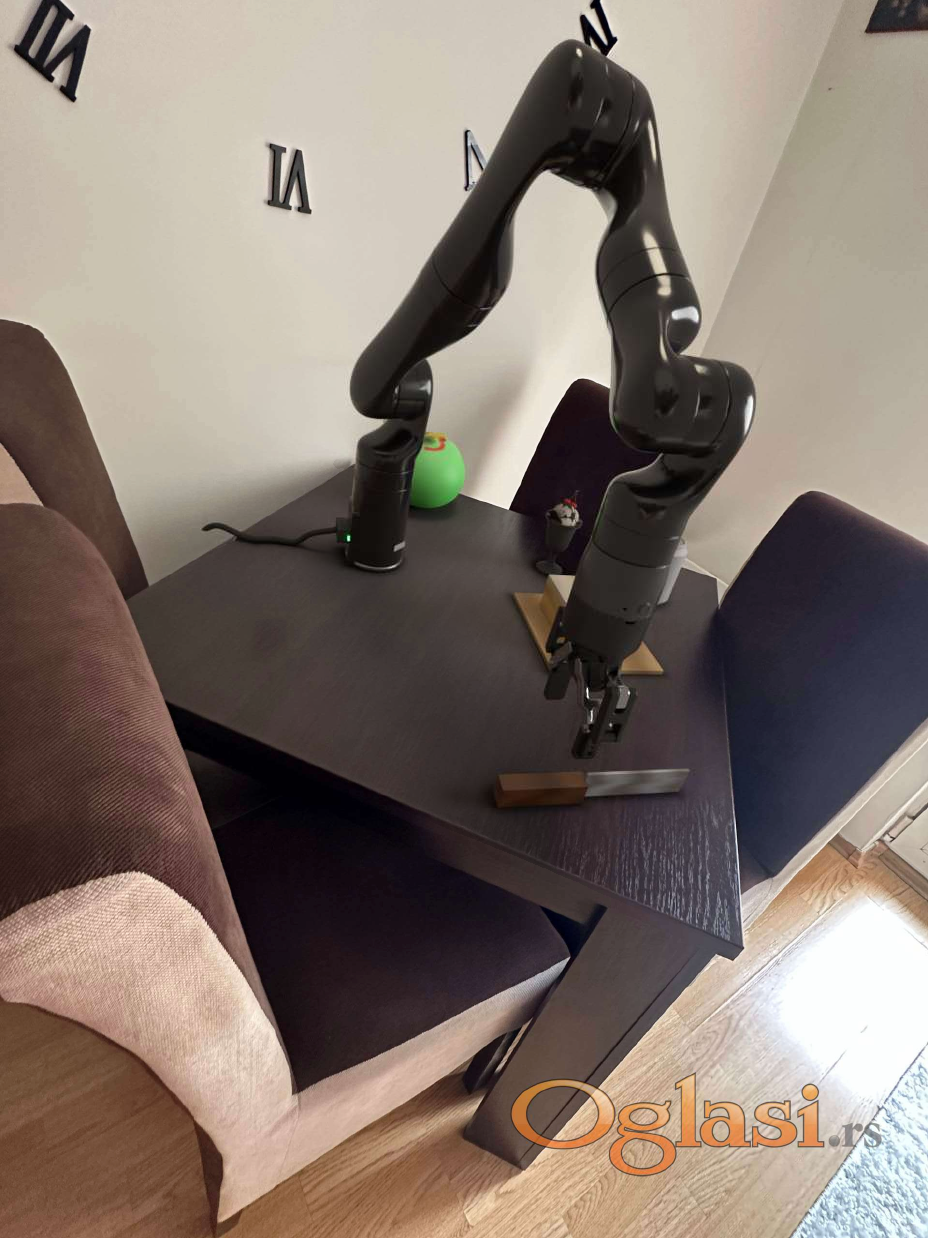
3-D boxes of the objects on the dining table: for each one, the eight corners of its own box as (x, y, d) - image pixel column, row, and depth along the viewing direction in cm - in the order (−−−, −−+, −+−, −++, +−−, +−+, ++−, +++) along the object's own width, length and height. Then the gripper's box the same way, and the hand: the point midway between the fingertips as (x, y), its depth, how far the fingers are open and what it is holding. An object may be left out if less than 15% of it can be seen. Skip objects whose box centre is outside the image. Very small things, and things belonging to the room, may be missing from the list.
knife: (497, 808, 70) (504, 785, 68) (492, 791, 72) (499, 769, 70) (682, 798, 76) (693, 777, 75) (673, 783, 78) (684, 762, 76)
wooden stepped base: (550, 674, 92) (563, 636, 88) (512, 596, 108) (521, 561, 104) (662, 674, 97) (678, 639, 93) (609, 600, 113) (621, 567, 109)
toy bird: (465, 525, 127) (480, 453, 119) (378, 517, 122) (388, 442, 114) (450, 487, 141) (462, 420, 133) (372, 479, 137) (380, 409, 129)
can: (620, 582, 119) (642, 523, 112) (658, 587, 120) (681, 529, 114) (632, 605, 113) (656, 544, 106) (672, 609, 114) (698, 550, 107)
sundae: (566, 563, 121) (589, 488, 113) (567, 581, 116) (592, 503, 107) (531, 556, 121) (552, 480, 113) (531, 573, 115) (553, 495, 107)
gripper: (550, 550, 62) (512, 681, 71) (608, 639, 51) (555, 781, 60) (620, 554, 64) (575, 680, 73) (691, 640, 53) (628, 777, 62)
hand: (566, 725), depth 66 cm, fingers open, 8 cm apart
